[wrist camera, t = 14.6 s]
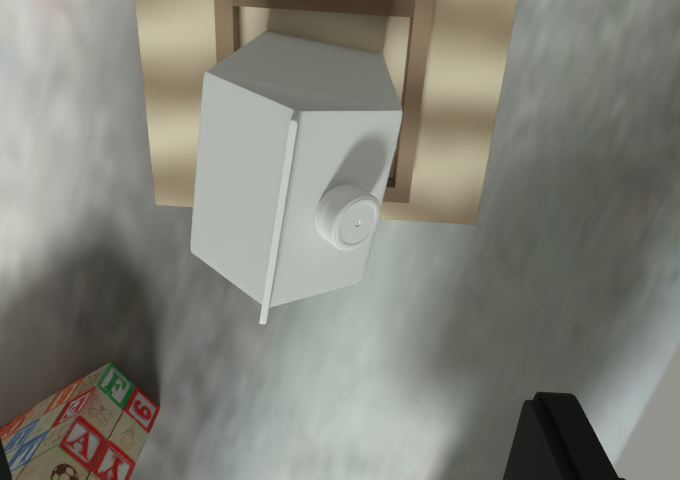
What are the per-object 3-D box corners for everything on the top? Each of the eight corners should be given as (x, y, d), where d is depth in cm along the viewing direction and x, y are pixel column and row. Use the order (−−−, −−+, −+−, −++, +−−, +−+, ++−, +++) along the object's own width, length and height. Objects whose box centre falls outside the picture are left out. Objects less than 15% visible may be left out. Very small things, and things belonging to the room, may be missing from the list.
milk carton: (252, 144, 35) (156, 307, 18) (265, 28, 32) (167, 94, 15) (359, 164, 36) (365, 342, 19) (383, 53, 32) (417, 143, 15)
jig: (472, 217, 38) (481, 236, 36) (161, 198, 38) (146, 215, 36) (518, -36, 31) (534, -37, 29) (136, -61, 31) (116, -64, 28)
